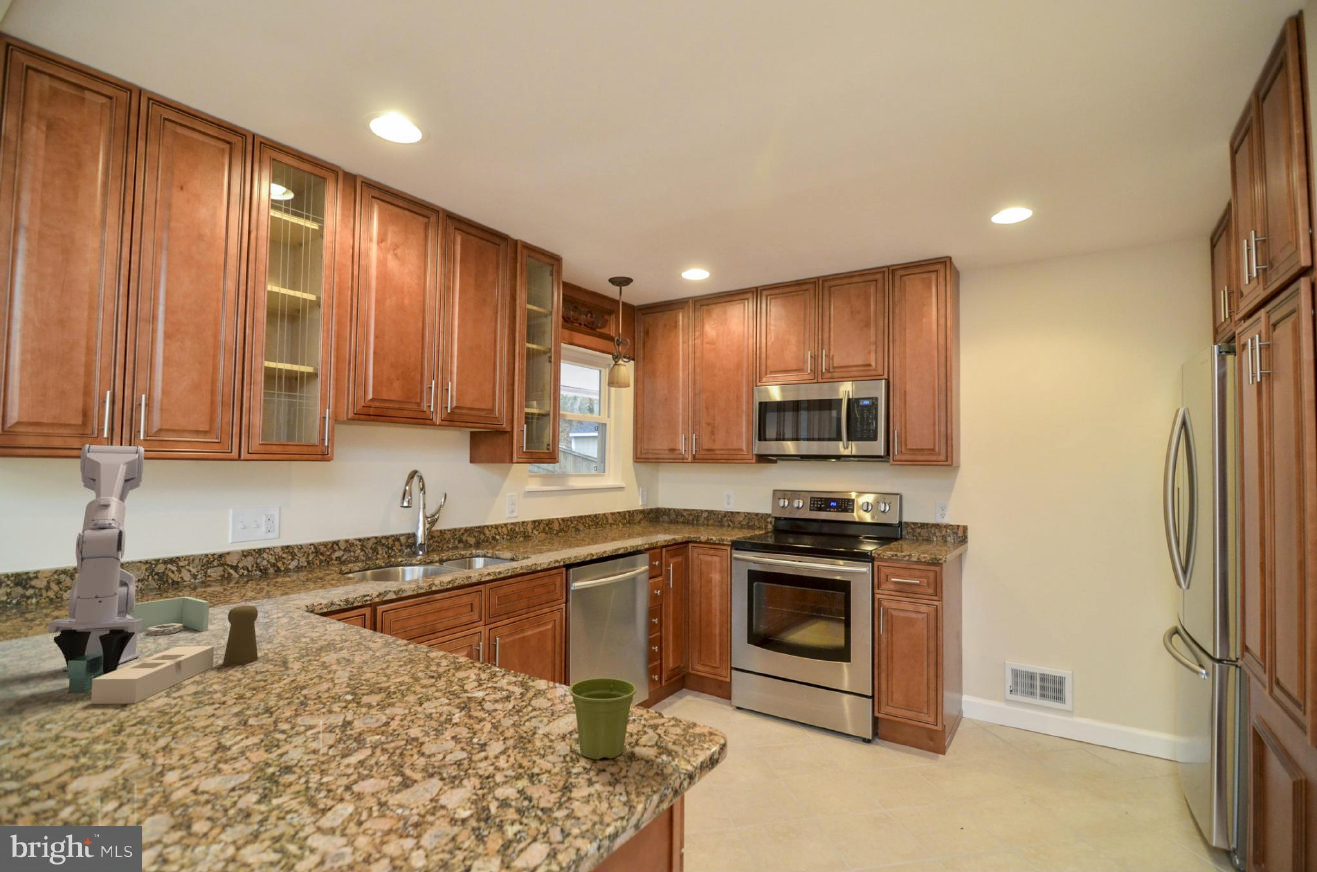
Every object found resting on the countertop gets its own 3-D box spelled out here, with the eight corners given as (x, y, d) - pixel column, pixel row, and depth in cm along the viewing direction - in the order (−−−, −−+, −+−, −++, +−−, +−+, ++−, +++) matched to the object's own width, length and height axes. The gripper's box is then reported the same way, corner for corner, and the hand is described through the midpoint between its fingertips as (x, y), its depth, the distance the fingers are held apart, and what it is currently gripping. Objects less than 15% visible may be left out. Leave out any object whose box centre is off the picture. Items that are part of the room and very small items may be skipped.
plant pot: (594, 732, 95) (595, 673, 95) (648, 746, 90) (648, 684, 91) (554, 755, 87) (555, 691, 87) (610, 772, 82) (611, 704, 83)
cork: (240, 666, 125) (243, 610, 126) (215, 664, 126) (218, 608, 127) (265, 657, 131) (267, 604, 132) (240, 655, 132) (243, 602, 133)
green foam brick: (99, 679, 116) (101, 649, 117) (116, 679, 116) (118, 649, 117) (66, 693, 109) (68, 660, 110) (84, 692, 110) (86, 660, 110)
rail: (176, 667, 124) (177, 646, 125) (212, 666, 125) (213, 646, 125) (91, 703, 104) (92, 679, 105) (135, 703, 105) (136, 678, 105)
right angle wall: (126, 636, 149) (128, 604, 150) (185, 626, 159) (186, 596, 160) (147, 644, 143) (149, 610, 143) (207, 633, 153) (209, 601, 154)
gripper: (35, 600, 109) (29, 680, 109) (122, 599, 110) (117, 679, 109) (70, 592, 117) (65, 667, 116) (152, 592, 117) (147, 666, 117)
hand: (92, 672), depth 113 cm, fingers open, 5 cm apart
